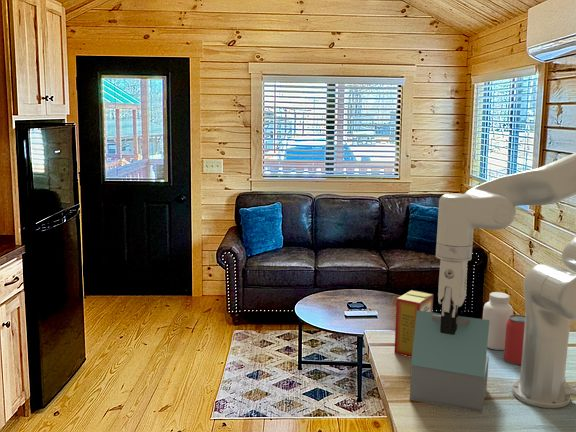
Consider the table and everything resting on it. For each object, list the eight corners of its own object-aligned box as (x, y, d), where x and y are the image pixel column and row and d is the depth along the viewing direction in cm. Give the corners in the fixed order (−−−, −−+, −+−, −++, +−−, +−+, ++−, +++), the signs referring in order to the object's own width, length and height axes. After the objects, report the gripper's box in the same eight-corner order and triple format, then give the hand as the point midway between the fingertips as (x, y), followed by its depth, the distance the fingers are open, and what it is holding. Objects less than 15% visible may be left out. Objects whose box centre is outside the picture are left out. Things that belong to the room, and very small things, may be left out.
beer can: (504, 364, 160) (508, 321, 158) (502, 354, 166) (505, 312, 164) (531, 367, 158) (535, 323, 156) (528, 357, 165) (531, 315, 162)
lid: (489, 320, 135) (488, 319, 130) (484, 377, 133) (482, 378, 128) (417, 310, 141) (413, 309, 136) (411, 364, 139) (407, 365, 134)
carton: (486, 390, 145) (488, 356, 144) (481, 413, 134) (484, 377, 133) (419, 378, 151) (421, 345, 150) (409, 399, 140) (411, 364, 139)
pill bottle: (512, 351, 168) (516, 300, 165) (482, 349, 170) (485, 298, 167) (508, 341, 176) (512, 291, 173) (479, 338, 177) (482, 289, 174)
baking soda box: (416, 358, 163) (419, 301, 160) (394, 352, 167) (396, 297, 164) (430, 347, 171) (433, 293, 168) (409, 342, 174) (411, 288, 171)
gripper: (467, 261, 122) (461, 347, 126) (476, 245, 137) (470, 323, 140) (429, 257, 125) (424, 341, 129) (442, 242, 139) (437, 318, 143)
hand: (448, 331), depth 134 cm, fingers closed
